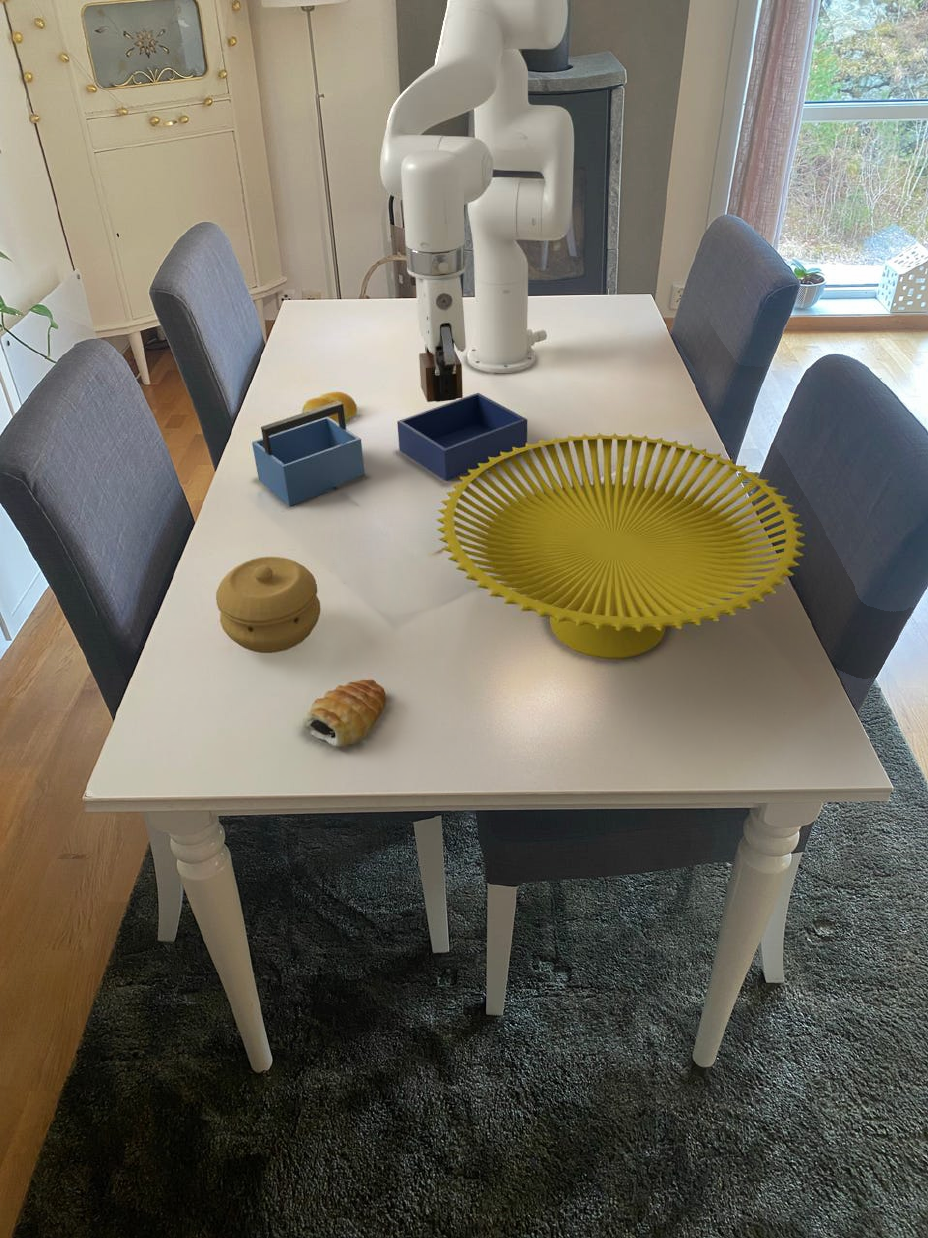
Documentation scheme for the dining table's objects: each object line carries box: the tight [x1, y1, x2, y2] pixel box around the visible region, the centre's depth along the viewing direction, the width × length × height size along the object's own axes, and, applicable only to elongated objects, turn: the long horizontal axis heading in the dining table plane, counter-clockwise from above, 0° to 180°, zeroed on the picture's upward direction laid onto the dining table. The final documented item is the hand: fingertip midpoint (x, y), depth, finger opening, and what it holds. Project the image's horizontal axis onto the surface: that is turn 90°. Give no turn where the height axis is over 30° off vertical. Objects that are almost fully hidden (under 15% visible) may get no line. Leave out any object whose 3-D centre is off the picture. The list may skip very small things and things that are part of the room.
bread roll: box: [301, 391, 358, 424], centre depth 158 cm, size 8×9×4 cm
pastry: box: [302, 679, 387, 748], centre depth 101 cm, size 9×7×4 cm
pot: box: [215, 556, 321, 654], centre depth 111 cm, size 12×12×10 cm
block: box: [418, 349, 464, 403], centre depth 130 cm, size 5×5×5 cm
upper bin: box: [251, 401, 366, 507], centre depth 140 cm, size 13×10×11 cm
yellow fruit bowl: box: [435, 432, 806, 660], centre depth 110 cm, size 40×40×15 cm
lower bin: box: [396, 392, 528, 482], centre depth 147 cm, size 16×12×6 cm
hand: (441, 389), depth 132 cm, fingers closed on block, 5 cm apart
